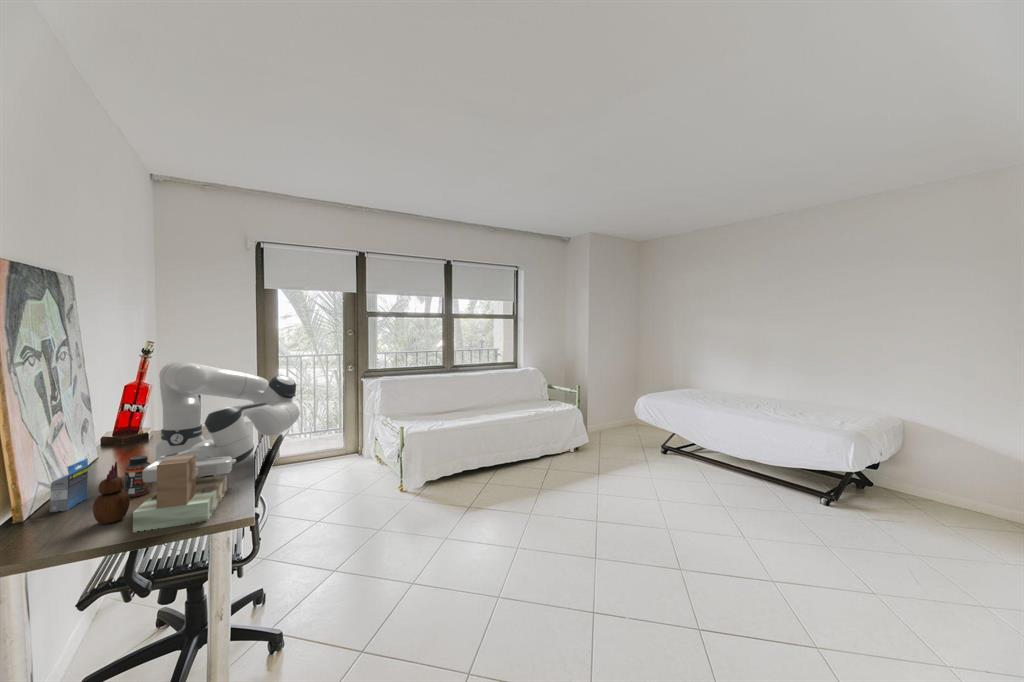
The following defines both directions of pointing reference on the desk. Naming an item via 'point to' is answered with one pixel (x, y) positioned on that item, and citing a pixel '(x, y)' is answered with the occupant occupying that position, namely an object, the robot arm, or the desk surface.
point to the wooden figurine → (111, 499)
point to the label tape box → (69, 488)
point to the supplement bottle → (136, 477)
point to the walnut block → (176, 481)
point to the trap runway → (182, 507)
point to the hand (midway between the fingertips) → (182, 477)
